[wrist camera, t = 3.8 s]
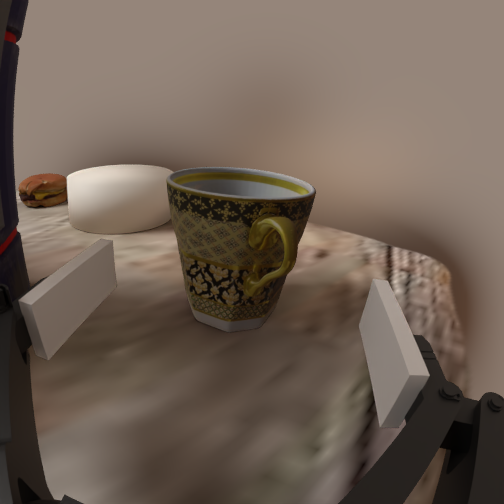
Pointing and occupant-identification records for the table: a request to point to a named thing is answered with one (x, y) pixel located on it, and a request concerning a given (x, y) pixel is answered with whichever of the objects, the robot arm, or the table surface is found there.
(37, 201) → the burger
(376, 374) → the robot arm
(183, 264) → the ceramic cup
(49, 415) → the table surface
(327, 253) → the table surface
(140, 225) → the plinth
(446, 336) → the table surface
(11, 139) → the grenade
